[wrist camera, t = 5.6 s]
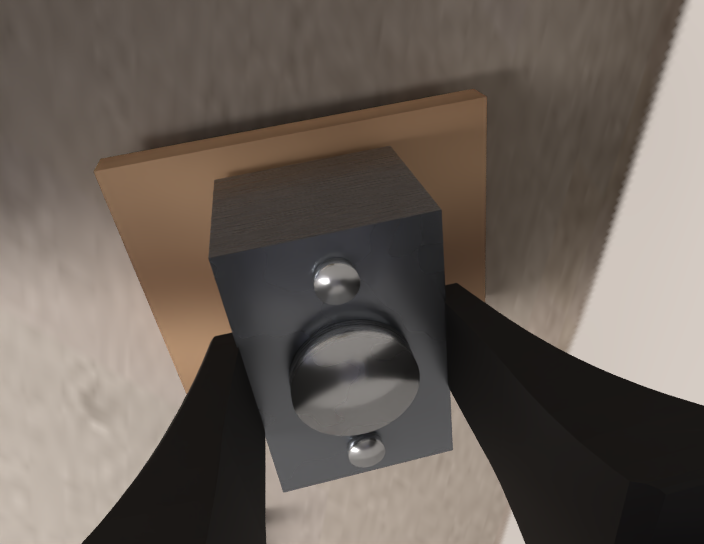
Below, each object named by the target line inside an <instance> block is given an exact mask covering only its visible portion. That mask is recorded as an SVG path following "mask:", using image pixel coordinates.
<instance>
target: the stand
mask: <svg viewBox="0 0 704 544" xmlns="http://www.w3.org/2000/svg"><path fill="white" fill-rule="evenodd" d="M486 135H487V97H486V96H485V95H483V94H482V93H480V92H478V91H477V90H475V89H469V90H464V91H458V92H453V93H448V94H442V95H437V96H432V97H426V98H421V99H416V100H411V101H405V102H400V103H395V104H389V105H384V106H379V107H373V108H368V109H363V110H357V111H352V112H347V113H341V114H336V115H331V116H325V117H320V118H315V119H310V120H304V121H299V122H294V123H288V124H283V125H278V126H272V127H267V128H262V129H256V130H251V131H246V132H240V133H235V134H230V135H224V136H219V137H214V138H209V139H203V140H198V141H193V142H187V143H182V144H177V145H171V146H166V147H161V148H155V149H150V150H145V151H139V152H134V153H129V154H123V155H118V156H113V157H107V158H102V159H100V161H99V163H98V165H97V166H96V168H95V170H94V174H95V176H96V179H97V181H98V184H99V186H100V188H101V191H102V193H103V195H104V198H105V200H106V203H107V205H108V207H109V210H110V212H111V215H112V217H113V219H114V222H115V224H116V227H117V229H118V231H119V234H120V236H121V238H122V241H123V243H124V246H125V248H126V250H127V253H128V255H129V258H130V260H131V262H132V265H133V267H134V270H135V272H136V274H137V277H138V279H139V281H140V284H141V286H142V289H143V291H144V293H145V296H146V298H147V301H148V303H149V305H150V308H151V310H152V313H153V315H154V317H155V320H156V322H157V324H158V327H159V329H160V332H161V334H162V336H163V339H164V341H165V344H166V346H167V348H168V351H169V353H170V356H171V358H172V360H173V363H174V365H175V367H176V370H177V372H178V375H179V377H180V379H181V382H182V384H183V387H184V389H185V391H186V394H187V393H188V391H189V389H190V387H191V385H192V383H193V381H194V379H195V377H196V375H197V372H198V370H199V368H200V366H201V364H202V361H203V359H204V357H205V354H206V352H207V349H208V347H209V344H210V342H211V340H212V339H213V337H214V336H218V335H223V334H227V333H232V331H231V327H230V324H229V321H228V318H227V315H226V312H225V309H224V306H223V303H222V299H221V296H220V293H219V290H218V287H217V284H216V281H215V278H214V274H213V271H212V268H211V265H210V262H209V259H208V256H209V243H210V229H211V216H212V203H213V190H214V180H216V179H221V178H226V177H231V176H237V175H242V174H247V173H252V172H257V171H262V170H267V169H273V168H278V167H283V166H288V165H293V164H298V163H303V162H309V161H314V160H319V159H324V158H329V157H334V156H339V155H344V154H350V153H355V152H360V151H365V150H370V149H375V148H380V147H386V146H391V147H392V148H393V150H394V151H395V152H396V153H397V155H398V156H399V157H400V158H401V160H402V161H403V162H404V163H405V165H406V166H407V167H408V168H409V170H410V171H411V172H412V173H413V175H414V176H415V177H416V178H417V180H418V181H419V182H420V183H421V185H422V186H423V187H424V188H425V190H426V191H427V192H428V193H429V195H430V196H431V197H432V198H433V200H434V201H435V202H436V203H437V205H438V206H439V207H440V208H441V210H442V227H443V249H444V270H445V285H448V284H453V283H458V284H459V285H461V286H462V287H464V288H465V289H466V290H468V291H469V292H471V293H472V294H473V295H475V296H476V297H478V298H479V299H480V300H482V301H483V302H485V245H486Z"/></svg>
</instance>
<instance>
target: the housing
mask: <svg viewBox="0 0 704 544" xmlns="http://www.w3.org/2000/svg"><path fill="white" fill-rule="evenodd" d="M208 259H209V262H210V265H211V268H212V271H213V274H214V278H215V281H216V284H217V287H218V290H219V293H220V296H221V299H222V303H223V306H224V309H225V312H226V315H227V318H228V321H229V324H230V327H231V331H232V334H233V337H234V340H235V343H236V346H237V348H238V347H239V350H240V353H241V356H242V359H243V363H244V366H245V369H246V372H247V375H248V378H249V381H250V385H251V388H252V391H253V394H254V397H255V400H256V403H257V407H258V410H259V413H260V416H261V419H262V422H263V425H264V429H265V437H266V440H267V443H268V446H269V449H270V452H271V455H272V459H273V462H274V465H275V468H276V471H277V474H278V477H279V480H280V483H281V487H282V490H283V492H287V491H291V490H295V489H299V488H303V487H307V486H311V485H315V484H319V483H323V482H327V481H331V480H335V479H339V478H343V477H347V476H351V475H355V474H359V473H363V472H367V471H371V470H375V469H379V468H383V467H387V466H391V465H395V464H399V463H403V462H407V461H411V460H415V459H419V458H423V457H427V456H431V455H435V454H439V453H443V452H447V451H451V450H453V443H452V422H451V400H450V389H449V386H448V369H447V348H446V327H445V307H444V301H446V292H445V270H444V249H443V227H442V210H441V208H440V207H439V206H438V205H437V203H436V202H435V201H434V200H433V198H432V197H431V196H430V195H429V193H428V192H427V191H426V190H425V188H424V187H423V186H422V185H421V183H420V182H419V181H418V180H417V178H416V177H415V176H414V175H413V173H412V172H411V171H410V170H409V168H408V167H407V166H406V165H405V163H404V162H403V161H402V160H401V158H400V157H399V156H398V155H397V153H396V152H395V151H394V150H393V148H392V147H391V146H386V147H380V148H375V149H370V150H365V151H360V152H355V153H350V154H344V155H339V156H334V157H329V158H324V159H319V160H314V161H309V162H303V163H298V164H293V165H288V166H283V167H278V168H273V169H267V170H262V171H257V172H252V173H247V174H242V175H237V176H231V177H226V178H221V179H216V180H214V190H213V203H212V216H211V229H210V243H209V256H208Z"/></svg>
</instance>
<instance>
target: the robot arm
mask: <svg viewBox="0 0 704 544" xmlns="http://www.w3.org/2000/svg"><path fill="white" fill-rule="evenodd" d="M445 292H446V301H444V307H445V327H446V348H447V369H448V386H449V389H450V391H451V392H452V394H453V396H454V398H455V400H456V402H457V404H458V405H459V407H460V409H461V411H462V413H463V415H464V417H465V418H466V420H467V422H468V424H469V426H470V427H471V429H472V431H473V433H474V435H475V436H476V438H477V440H478V442H479V444H480V446H481V447H482V449H483V451H484V453H485V455H486V456H487V458H488V460H489V462H490V464H491V466H492V468H493V470H494V472H495V474H496V476H497V478H498V480H499V482H500V484H501V486H502V489H503V491H504V493H505V496H506V498H507V500H508V503H509V505H510V507H511V510H512V512H513V514H514V517H515V519H516V521H517V524H518V526H519V529H520V531H521V533H522V536H523V538H524V541H525V544H704V406H703V405H699V404H696V403H693V402H690V401H687V400H683V399H680V398H676V397H674V396H670V395H667V394H664V393H661V392H658V391H655V390H653V389H650V388H647V387H644V386H641V385H639V384H636V383H634V382H631V381H629V380H626V379H623V378H621V377H618V376H616V375H613V374H611V373H608V372H606V371H604V370H601V369H599V368H597V367H595V366H592V365H590V364H588V363H586V362H584V361H582V360H580V359H578V358H576V357H574V356H572V355H570V354H568V353H566V352H564V351H562V350H560V349H558V348H556V347H554V346H553V345H551V344H549V343H547V342H546V341H544V340H542V339H540V338H539V337H537V336H535V335H533V334H532V333H530V332H528V331H527V330H525V329H524V328H522V327H520V326H519V325H517V324H516V323H514V322H513V321H511V320H510V319H508V318H506V317H505V316H504V315H502V314H501V313H499V312H498V311H496V310H495V309H493V308H492V307H490V306H489V305H488V304H486V303H485V302H483V301H482V300H480V299H479V298H478V297H476V296H475V295H473V294H472V293H471V292H469V291H468V290H466V289H465V288H464V287H462V286H461V285H459V284H458V283H453V284H448V285H445ZM82 544H266V527H265V429H264V425H263V422H262V419H261V416H260V413H259V410H258V407H257V403H256V400H255V397H254V394H253V391H252V388H251V385H250V381H249V378H248V375H247V372H246V369H245V366H244V363H243V359H242V356H241V353H240V350H239V347H238V348H237V346H236V343H235V340H234V337H233V334H232V333H227V334H223V335H218V336H214V337H213V339H212V340H211V342H210V344H209V347H208V349H207V352H206V354H205V357H204V359H203V361H202V364H201V366H200V368H199V370H198V372H197V375H196V377H195V379H194V381H193V383H192V385H191V387H190V389H189V391H188V393H187V395H186V397H185V399H184V401H183V403H182V405H181V407H180V409H179V410H178V412H177V414H176V416H175V417H174V419H173V421H172V423H171V424H170V426H169V428H168V430H167V431H166V433H165V435H164V436H163V438H162V440H161V441H160V443H159V445H158V446H157V448H156V449H155V451H154V452H153V454H152V455H151V457H150V458H149V460H148V461H147V463H146V464H145V466H144V467H143V469H142V470H141V471H140V473H139V474H138V476H137V477H136V478H135V480H134V481H133V482H132V484H131V485H130V486H129V488H128V489H127V490H126V492H125V493H124V494H123V495H122V497H121V498H120V499H119V501H118V502H117V503H116V504H115V506H114V507H113V508H112V509H111V511H110V512H109V513H108V514H107V515H106V517H105V518H104V519H103V520H102V521H101V523H100V524H99V525H98V526H97V527H96V528H95V529H94V530H93V532H92V533H91V534H90V535H89V536H88V537H87V538H86V539H85V540H84V541H83V543H82Z"/></svg>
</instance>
